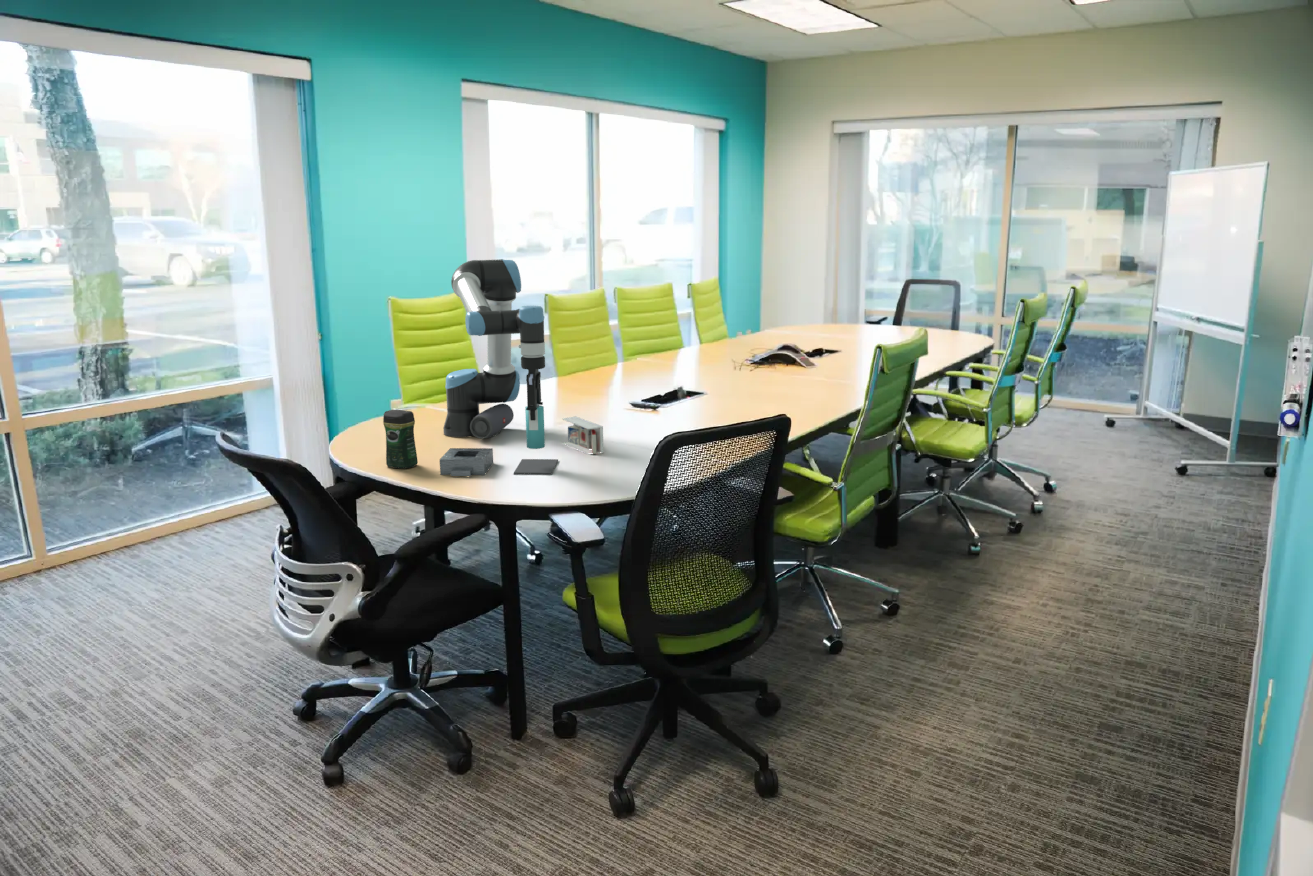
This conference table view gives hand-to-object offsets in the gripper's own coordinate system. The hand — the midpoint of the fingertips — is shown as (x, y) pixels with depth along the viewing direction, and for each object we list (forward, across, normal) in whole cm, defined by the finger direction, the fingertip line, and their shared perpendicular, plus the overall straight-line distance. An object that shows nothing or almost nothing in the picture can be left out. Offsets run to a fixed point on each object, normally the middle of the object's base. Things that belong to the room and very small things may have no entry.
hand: (535, 427), depth 296 cm
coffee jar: (+14, -1, -44) cm, 46 cm away
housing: (+13, +2, -22) cm, 26 cm away
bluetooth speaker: (+13, -44, -23) cm, 51 cm away
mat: (+13, 0, 0) cm, 13 cm away
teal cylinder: (+6, 0, 0) cm, 6 cm away
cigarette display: (+14, -25, +13) cm, 31 cm away
